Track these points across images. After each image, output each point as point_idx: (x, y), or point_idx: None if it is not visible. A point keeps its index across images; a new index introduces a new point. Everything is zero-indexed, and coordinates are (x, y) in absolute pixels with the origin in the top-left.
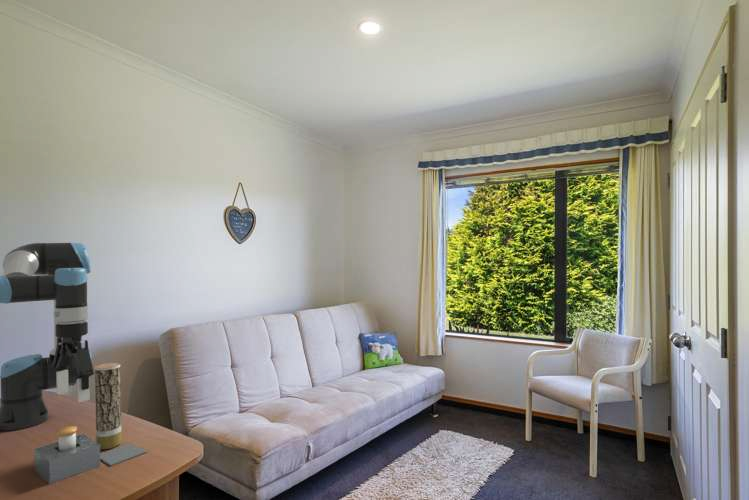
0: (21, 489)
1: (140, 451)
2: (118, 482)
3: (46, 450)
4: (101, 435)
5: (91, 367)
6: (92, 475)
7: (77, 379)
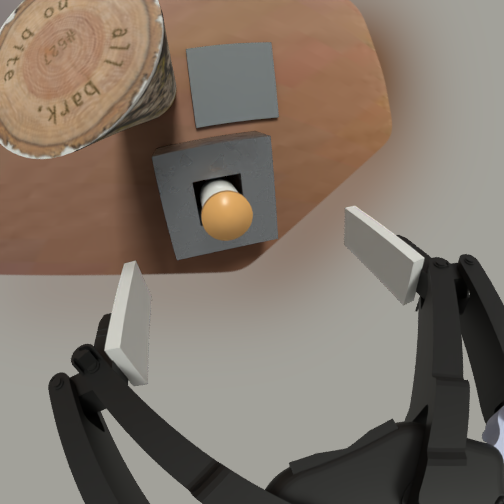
0: (246, 254)
1: (259, 50)
2: (352, 132)
3: (207, 240)
4: (164, 111)
5: (486, 282)
6: (290, 154)
7: (401, 301)
